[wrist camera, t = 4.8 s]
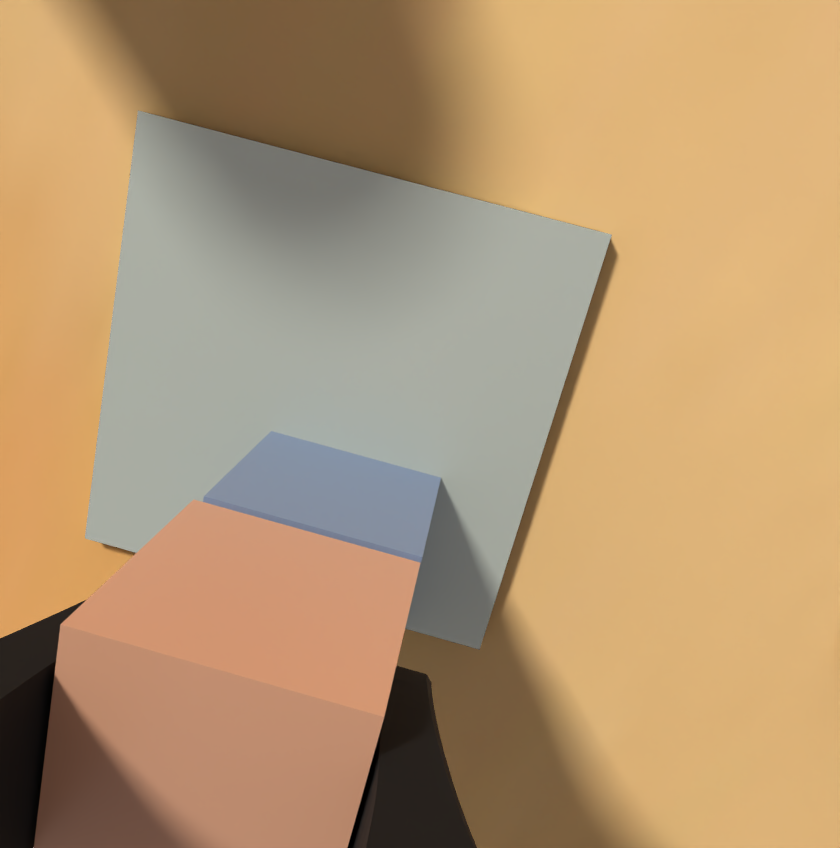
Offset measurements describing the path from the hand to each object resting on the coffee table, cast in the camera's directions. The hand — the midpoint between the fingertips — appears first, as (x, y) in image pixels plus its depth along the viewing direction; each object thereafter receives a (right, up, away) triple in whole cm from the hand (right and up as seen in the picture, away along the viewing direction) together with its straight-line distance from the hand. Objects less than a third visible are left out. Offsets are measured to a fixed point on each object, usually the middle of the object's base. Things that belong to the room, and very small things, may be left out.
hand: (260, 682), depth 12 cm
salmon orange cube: (0, 0, +1) cm, 1 cm away
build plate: (0, +5, +5) cm, 7 cm away
